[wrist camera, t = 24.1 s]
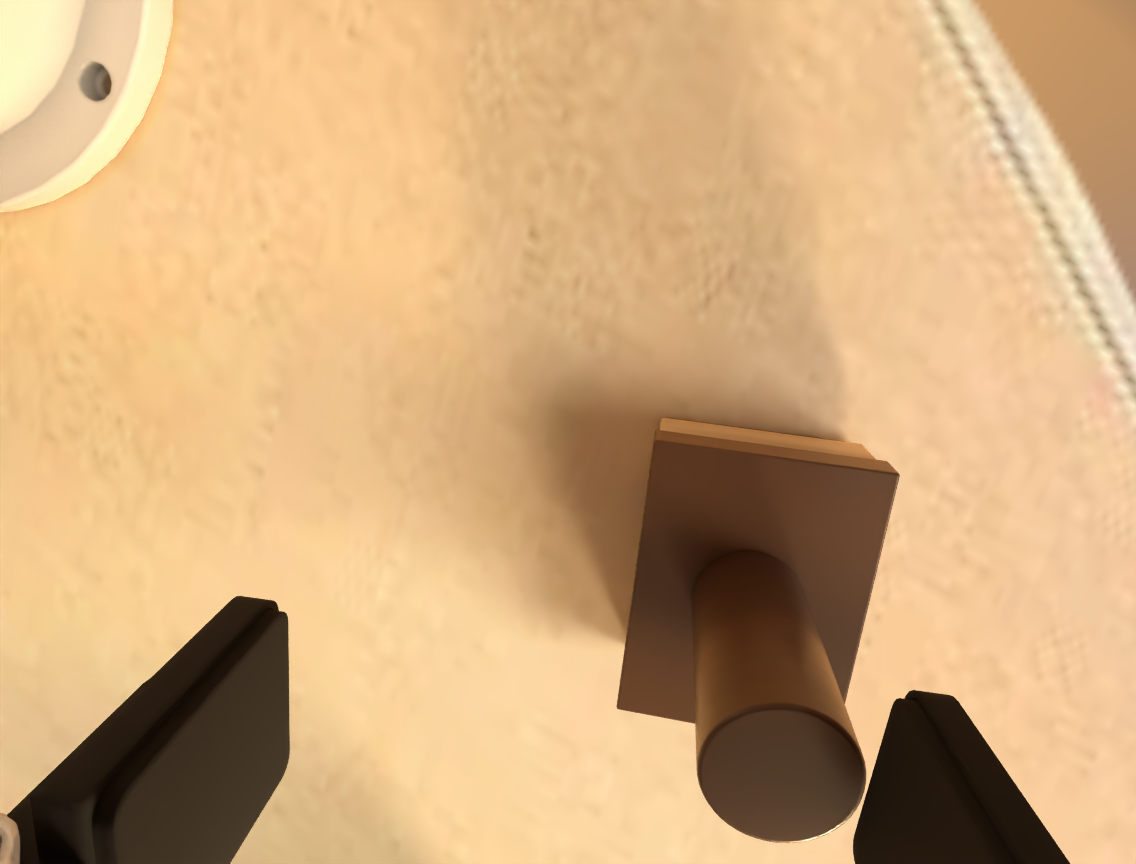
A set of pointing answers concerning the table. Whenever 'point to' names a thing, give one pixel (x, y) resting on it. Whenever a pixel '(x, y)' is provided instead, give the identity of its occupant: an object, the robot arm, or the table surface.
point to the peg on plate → (758, 616)
